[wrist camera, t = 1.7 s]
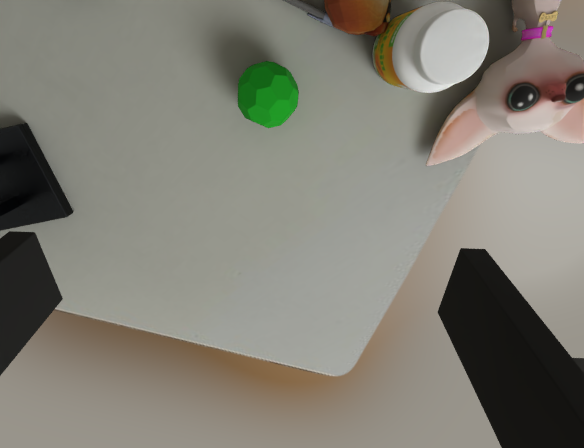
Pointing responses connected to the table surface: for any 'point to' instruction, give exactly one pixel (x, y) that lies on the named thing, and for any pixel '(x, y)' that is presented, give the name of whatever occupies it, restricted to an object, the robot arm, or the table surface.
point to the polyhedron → (267, 94)
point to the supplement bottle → (431, 47)
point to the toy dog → (520, 91)
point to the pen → (312, 11)
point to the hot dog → (359, 15)
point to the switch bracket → (27, 181)
